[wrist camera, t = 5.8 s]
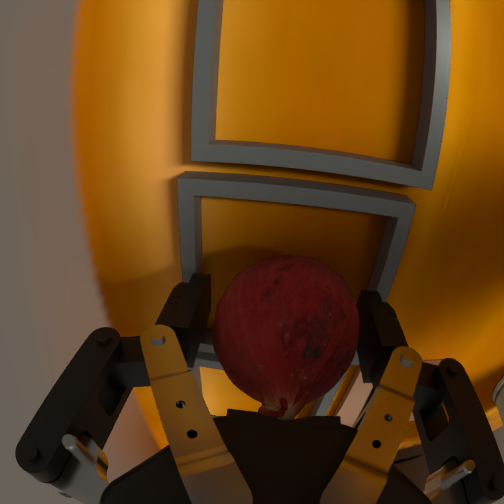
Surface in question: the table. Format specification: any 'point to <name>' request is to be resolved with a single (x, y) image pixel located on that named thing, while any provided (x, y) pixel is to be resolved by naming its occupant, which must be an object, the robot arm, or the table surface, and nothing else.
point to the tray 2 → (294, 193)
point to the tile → (359, 397)
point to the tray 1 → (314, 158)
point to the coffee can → (499, 398)
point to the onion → (286, 332)
